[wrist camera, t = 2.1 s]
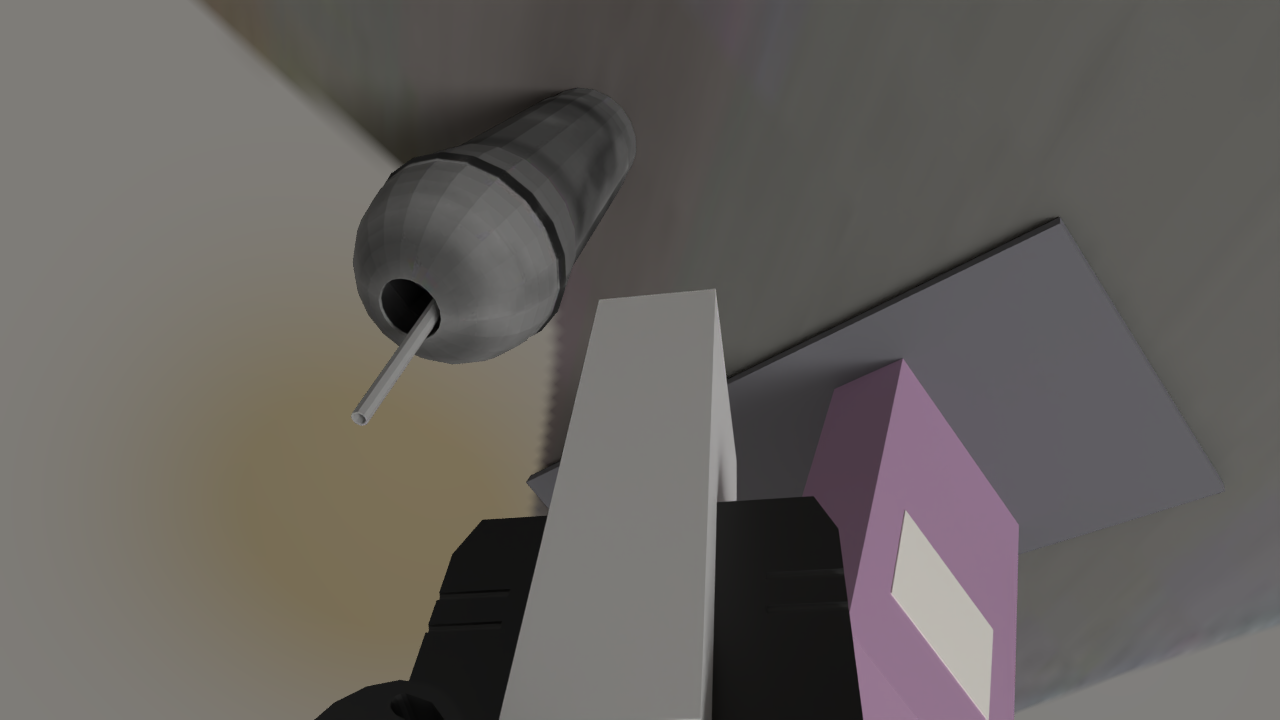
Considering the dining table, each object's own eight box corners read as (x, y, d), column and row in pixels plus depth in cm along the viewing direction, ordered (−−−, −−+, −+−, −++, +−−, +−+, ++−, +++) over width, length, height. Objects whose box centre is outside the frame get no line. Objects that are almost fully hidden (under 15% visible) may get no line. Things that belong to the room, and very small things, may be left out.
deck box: (903, 357, 44) (847, 627, 31) (1019, 524, 46) (1012, 837, 33) (833, 389, 46) (753, 655, 33) (948, 547, 48) (915, 851, 35)
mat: (680, 651, 59) (677, 659, 58) (530, 475, 55) (526, 482, 55) (1222, 482, 43) (1225, 491, 42) (1060, 216, 39) (1060, 223, 39)
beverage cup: (583, 17, 41) (292, 215, 25) (702, 153, 42) (498, 424, 26) (478, 126, 45) (171, 356, 29) (590, 246, 46) (355, 529, 31)
